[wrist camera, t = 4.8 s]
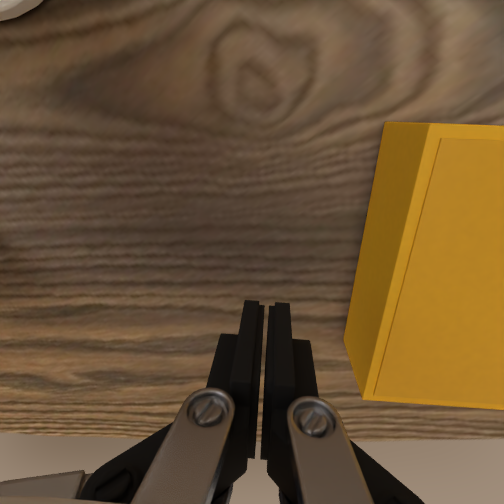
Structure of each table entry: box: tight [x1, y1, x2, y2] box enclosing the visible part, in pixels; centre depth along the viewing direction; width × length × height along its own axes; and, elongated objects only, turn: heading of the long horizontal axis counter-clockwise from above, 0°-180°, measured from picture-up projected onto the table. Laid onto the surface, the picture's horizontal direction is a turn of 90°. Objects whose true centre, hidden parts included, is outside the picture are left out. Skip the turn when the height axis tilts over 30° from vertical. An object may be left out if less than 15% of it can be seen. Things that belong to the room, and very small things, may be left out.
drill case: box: [343, 122, 504, 410], centre depth 16 cm, size 12×14×6 cm
